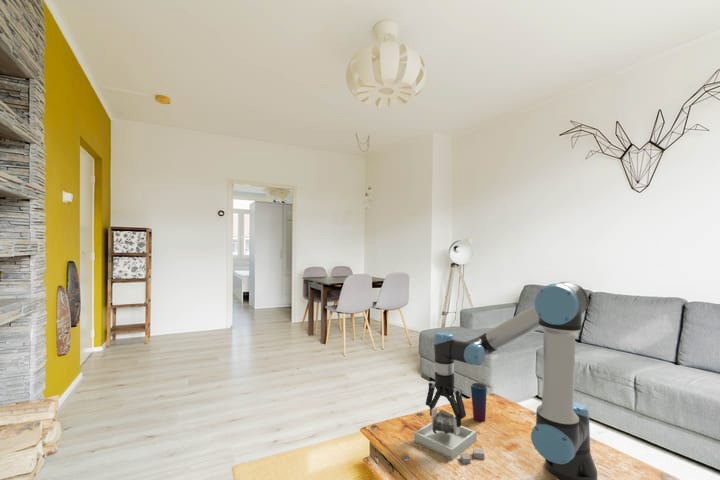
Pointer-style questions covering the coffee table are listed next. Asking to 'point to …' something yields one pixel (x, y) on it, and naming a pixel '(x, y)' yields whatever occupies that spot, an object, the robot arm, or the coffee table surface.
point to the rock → (444, 422)
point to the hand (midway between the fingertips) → (445, 429)
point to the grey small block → (478, 453)
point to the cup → (479, 401)
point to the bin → (445, 440)
